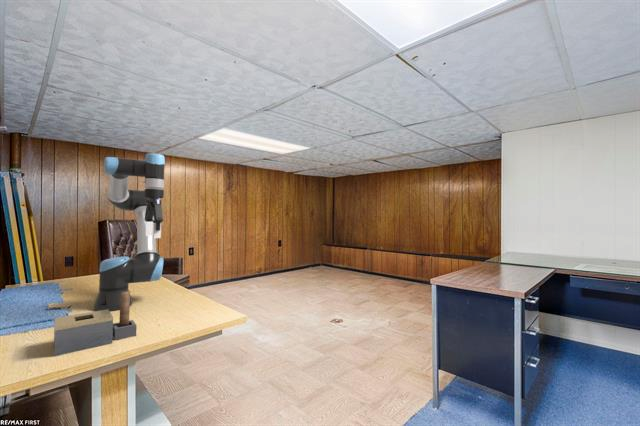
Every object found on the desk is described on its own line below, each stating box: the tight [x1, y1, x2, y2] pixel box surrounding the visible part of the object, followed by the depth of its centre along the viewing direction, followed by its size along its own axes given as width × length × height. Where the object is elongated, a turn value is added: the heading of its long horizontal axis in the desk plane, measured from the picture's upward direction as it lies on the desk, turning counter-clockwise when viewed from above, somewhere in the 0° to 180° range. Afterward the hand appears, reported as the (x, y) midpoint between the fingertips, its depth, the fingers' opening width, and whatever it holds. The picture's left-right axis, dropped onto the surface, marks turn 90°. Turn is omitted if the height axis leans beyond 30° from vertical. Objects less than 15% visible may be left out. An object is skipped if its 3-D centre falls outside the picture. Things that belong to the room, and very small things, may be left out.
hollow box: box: [53, 309, 114, 357], centre depth 103 cm, size 11×15×9 cm
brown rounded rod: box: [118, 290, 131, 327], centre depth 111 cm, size 3×3×16 cm
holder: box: [113, 319, 137, 341], centre depth 111 cm, size 7×7×4 cm
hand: (152, 237), depth 132 cm, fingers open, 13 cm apart
